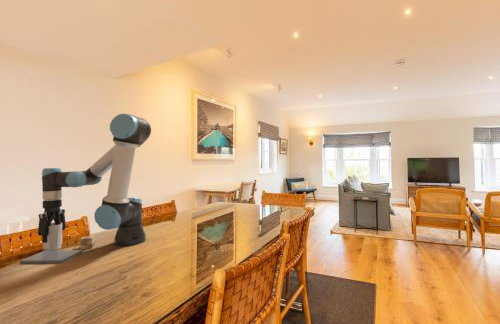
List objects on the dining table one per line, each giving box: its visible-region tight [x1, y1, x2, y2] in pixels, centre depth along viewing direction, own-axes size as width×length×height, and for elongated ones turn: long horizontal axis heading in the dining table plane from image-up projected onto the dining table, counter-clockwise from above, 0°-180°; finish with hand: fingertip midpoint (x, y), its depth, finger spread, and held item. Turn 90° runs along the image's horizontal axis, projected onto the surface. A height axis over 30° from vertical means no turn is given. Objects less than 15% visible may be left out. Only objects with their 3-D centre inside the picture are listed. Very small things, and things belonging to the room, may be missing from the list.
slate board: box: [19, 249, 84, 264], centre depth 117 cm, size 18×13×1 cm
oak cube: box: [79, 235, 96, 250], centre depth 131 cm, size 5×5×5 cm
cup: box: [44, 222, 63, 251], centre depth 129 cm, size 8×8×12 cm
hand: (53, 246), depth 129 cm, fingers closed on cup, 7 cm apart
